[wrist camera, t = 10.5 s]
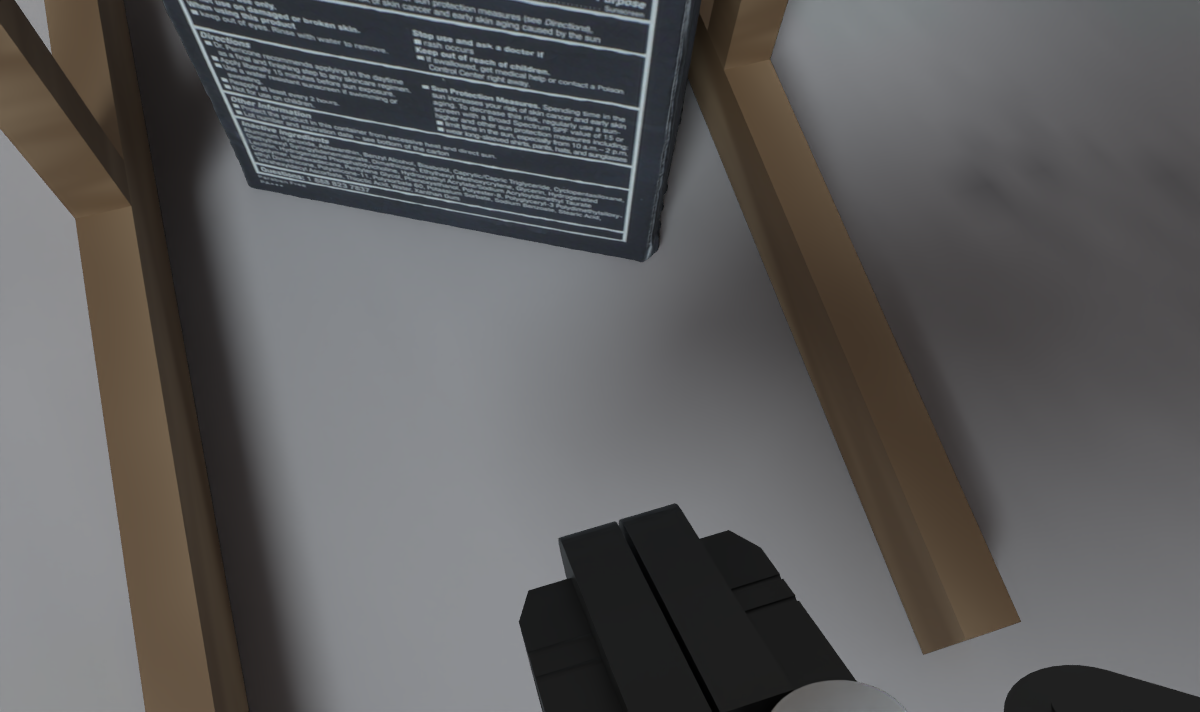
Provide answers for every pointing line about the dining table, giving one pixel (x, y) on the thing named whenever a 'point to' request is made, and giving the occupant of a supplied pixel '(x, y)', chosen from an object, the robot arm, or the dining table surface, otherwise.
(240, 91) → the small box
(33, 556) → the dining table surface
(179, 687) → the walnut tunnel
